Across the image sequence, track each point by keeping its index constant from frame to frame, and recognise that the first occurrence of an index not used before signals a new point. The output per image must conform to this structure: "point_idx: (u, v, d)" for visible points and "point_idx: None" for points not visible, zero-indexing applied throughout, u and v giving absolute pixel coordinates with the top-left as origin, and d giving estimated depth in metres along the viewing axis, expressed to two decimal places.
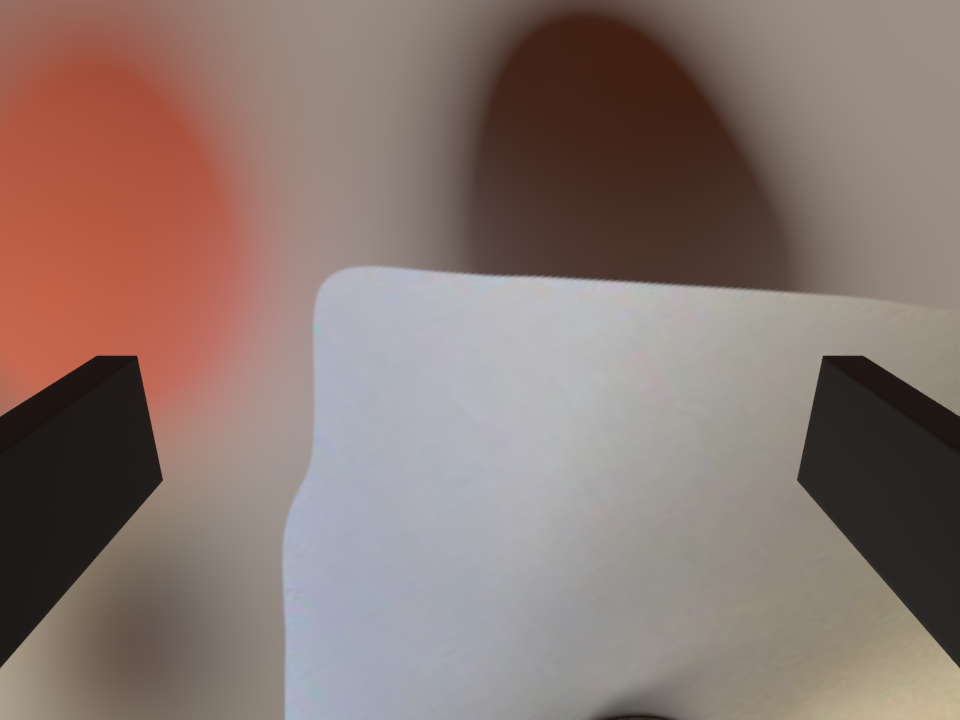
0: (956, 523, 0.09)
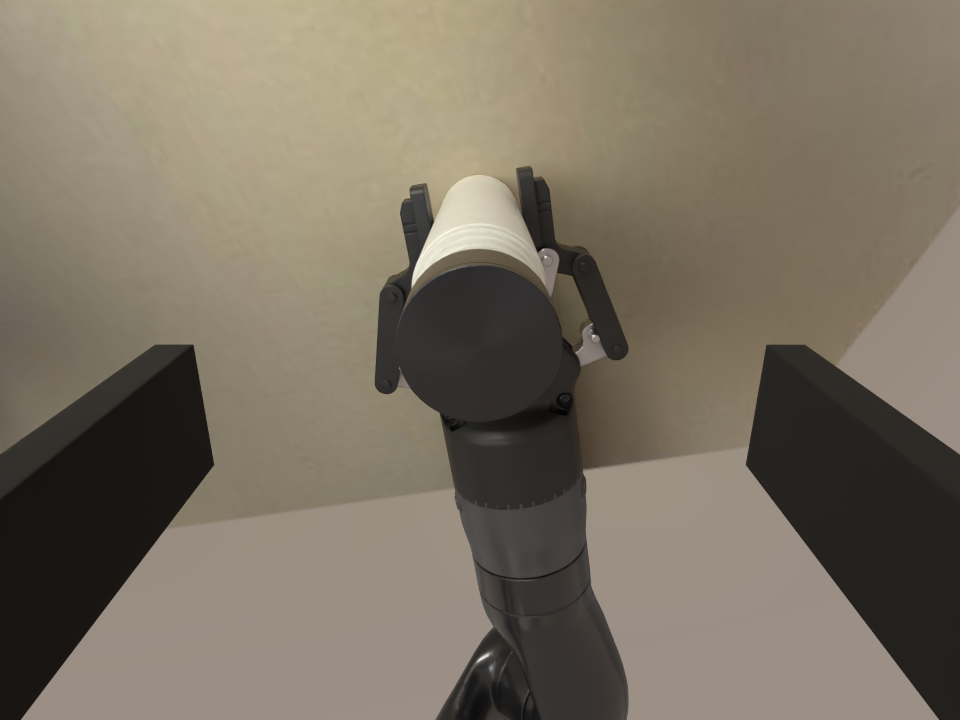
0: (871, 498, 0.09)
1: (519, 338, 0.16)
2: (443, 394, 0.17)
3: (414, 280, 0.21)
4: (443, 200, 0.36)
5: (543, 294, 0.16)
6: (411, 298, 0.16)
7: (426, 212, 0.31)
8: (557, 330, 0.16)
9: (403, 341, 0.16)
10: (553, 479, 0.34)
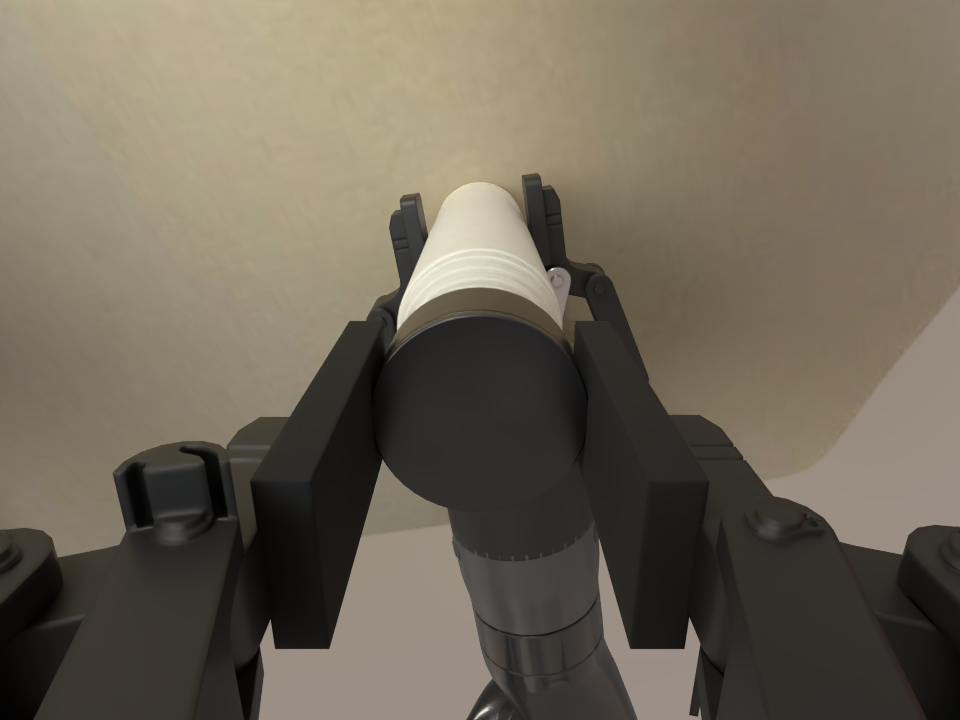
0: (606, 446, 0.11)
1: (533, 408, 0.12)
2: (433, 478, 0.13)
3: (400, 318, 0.17)
4: None
5: (565, 352, 0.12)
6: (390, 357, 0.12)
7: (419, 226, 0.27)
8: (583, 398, 0.12)
9: (380, 412, 0.12)
10: (563, 527, 0.30)
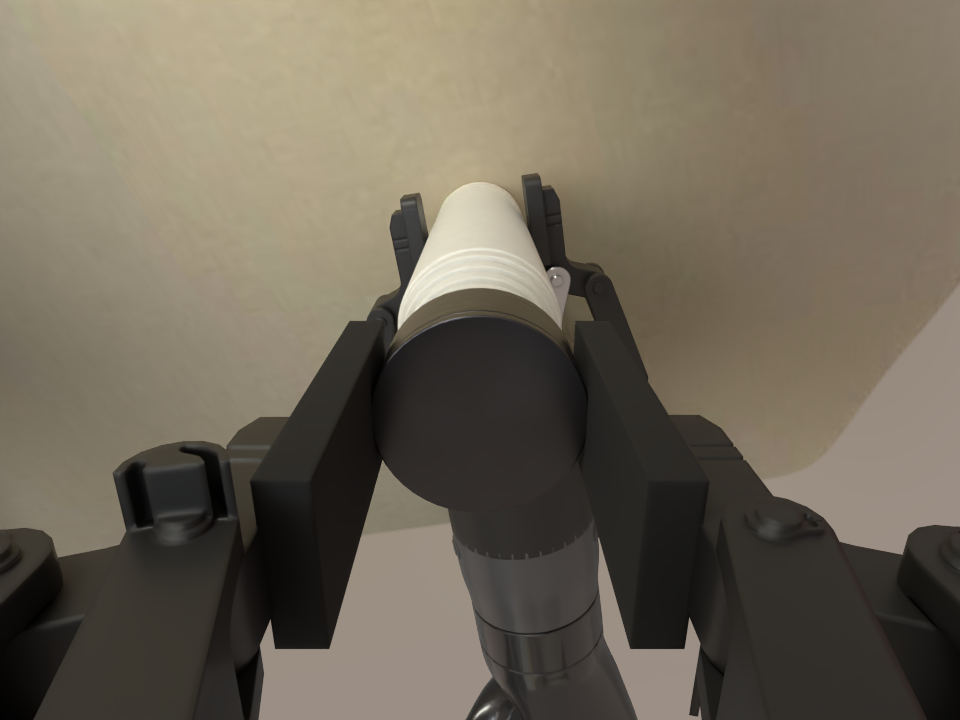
0: (606, 446, 0.11)
1: (437, 388, 0.12)
2: (562, 419, 0.12)
3: (400, 317, 0.17)
4: None
5: (372, 398, 0.12)
6: (478, 511, 0.13)
7: (419, 226, 0.27)
8: (397, 356, 0.12)
9: (529, 492, 0.13)
10: (563, 525, 0.30)
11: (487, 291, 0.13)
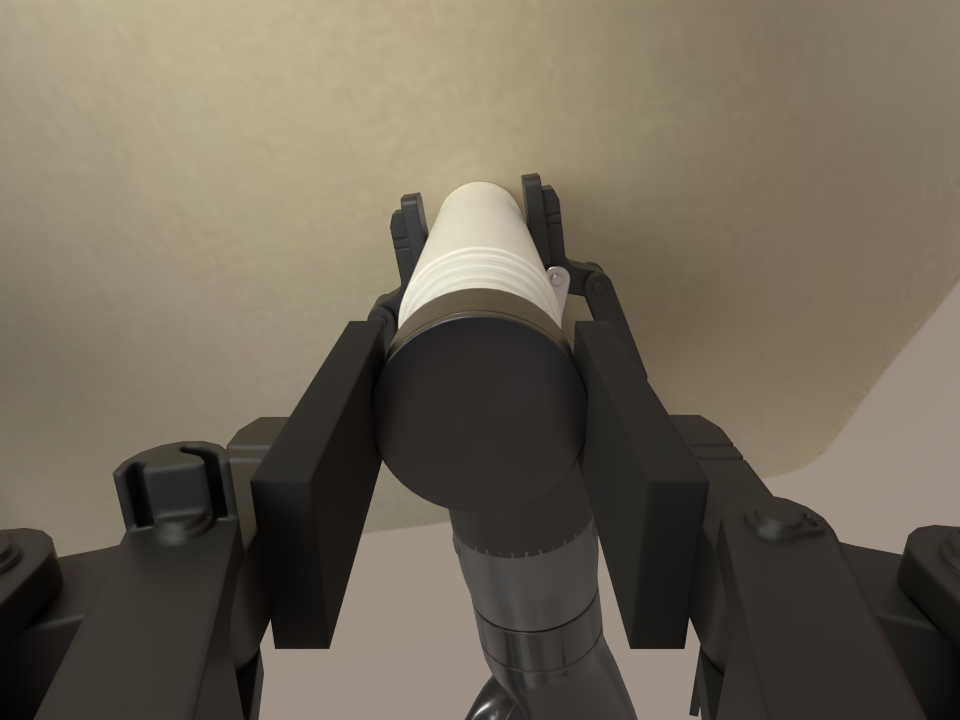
0: (606, 446, 0.11)
1: (476, 468, 0.13)
2: (427, 359, 0.12)
3: (401, 316, 0.17)
4: None
5: (521, 504, 0.13)
6: (570, 361, 0.12)
7: (419, 226, 0.27)
8: (472, 508, 0.13)
9: (518, 333, 0.12)
10: (563, 524, 0.30)
11: None
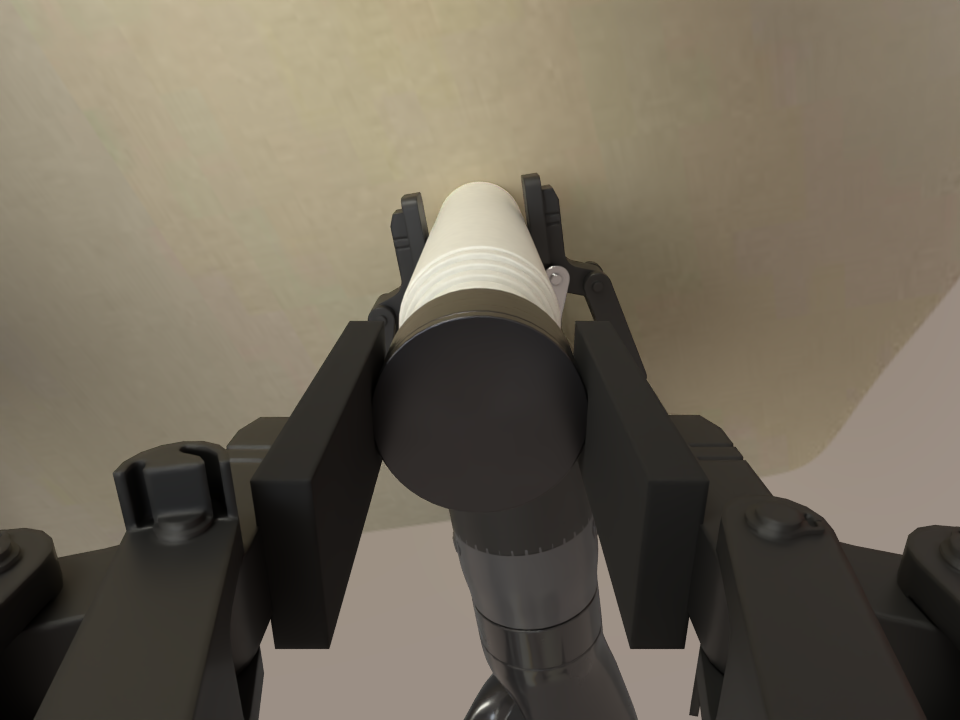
0: (606, 446, 0.11)
1: (526, 394, 0.12)
2: (457, 489, 0.13)
3: (401, 314, 0.17)
4: None
5: (536, 330, 0.12)
6: (374, 389, 0.12)
7: (420, 225, 0.27)
8: (571, 368, 0.12)
9: (385, 442, 0.13)
10: (562, 522, 0.30)
11: None
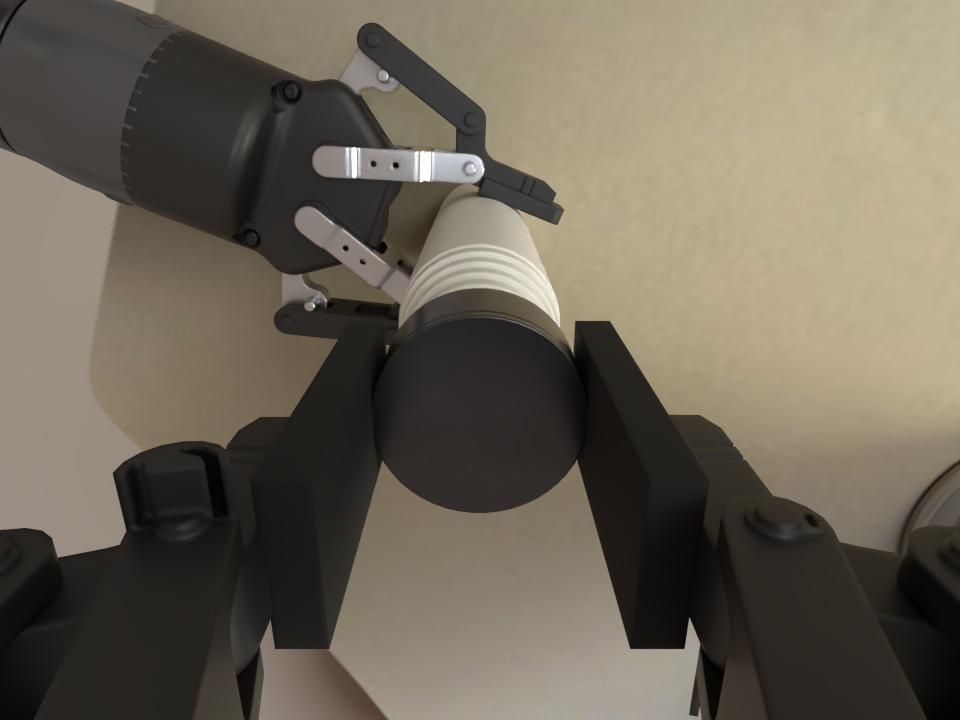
0: (606, 446, 0.11)
1: (526, 394, 0.12)
2: (457, 489, 0.13)
3: (536, 276, 0.17)
4: None
5: (537, 330, 0.12)
6: (375, 388, 0.12)
7: (533, 214, 0.27)
8: (571, 369, 0.12)
9: (385, 442, 0.13)
10: (152, 185, 0.25)
11: None
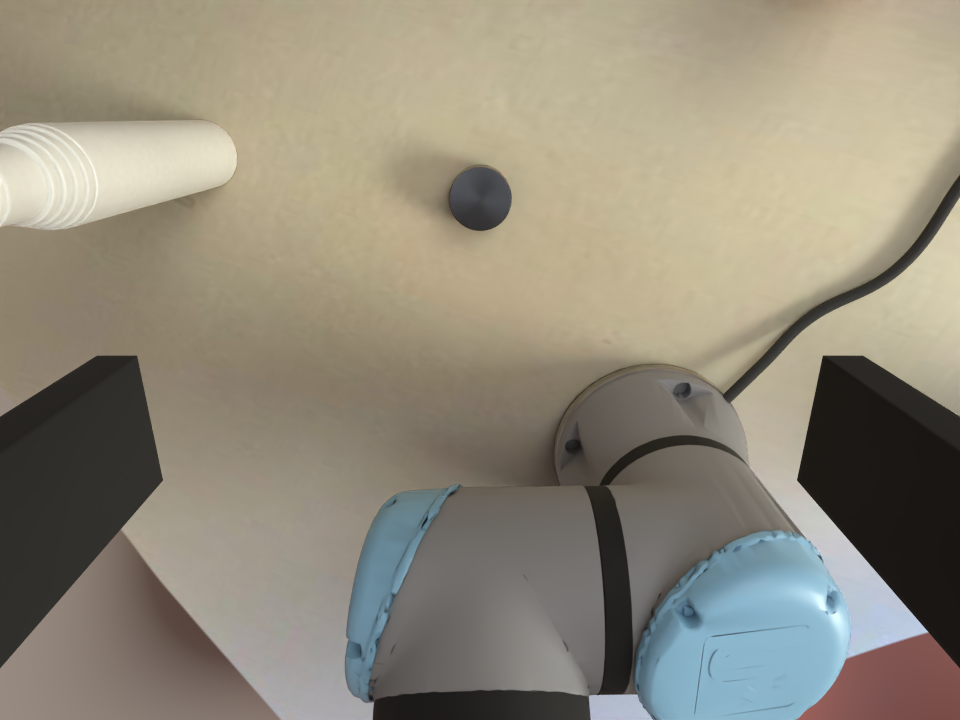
0: (956, 523, 0.09)
1: (493, 190, 0.44)
2: (474, 222, 0.44)
3: (67, 145, 0.27)
4: (221, 140, 0.42)
5: (495, 171, 0.43)
6: (451, 189, 0.44)
7: None
8: (505, 183, 0.43)
9: (453, 206, 0.44)
10: None
11: None
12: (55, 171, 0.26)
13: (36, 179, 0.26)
